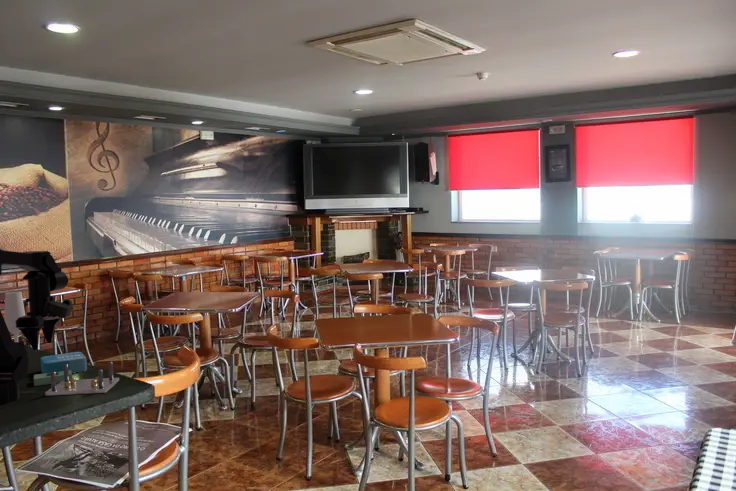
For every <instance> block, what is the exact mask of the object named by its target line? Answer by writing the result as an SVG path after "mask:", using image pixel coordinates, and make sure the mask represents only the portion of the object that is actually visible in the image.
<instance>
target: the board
mask: <svg viewBox="0 0 736 491" xmlns="http://www.w3.org/2000/svg"><path fill="white" fill-rule="evenodd" d="M68 374H69V380H70V378H73V374H72V372H71V370H68ZM63 380H64V371H60V372H56V384H58V383H60V382H61V381H63ZM44 385H45V386H46V385H51V373H45V374H43V373H39V374H33V386H34V387H37V386H44Z"/></svg>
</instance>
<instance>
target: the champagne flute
mask: <svg viewBox="0 0 736 491" xmlns="http://www.w3.org/2000/svg"><path fill="white" fill-rule="evenodd" d="M22 294H23V293H22V291H9V292H5V295H4V316H3V318H4V320H5V323H6V325H7V328H8V330H9V333H10V334H13V338H14V340H13V341H14V342H19V334H21V333H22V332H21V330H19V329H18V328H16V320H17V319H18V318H19V317H22V316H26V310H25V306H24V300H23V299H24V298H23V295H22Z"/></svg>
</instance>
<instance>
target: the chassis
mask: <svg viewBox="0 0 736 491" xmlns="http://www.w3.org/2000/svg"><path fill="white" fill-rule="evenodd" d="M113 364H114V362H113V361H109V362H107V366H108V368H107V369H108V377H106V378H105V377H104V370H103V369H97V375H98V376H95V378H87V379H85V378H83V379H77V378H76V377H72V378H70V380H69V374H68V364H64V365H63V367H64V380H63V381H61V382H60V383H56V372H51V384H50V385H51V388H49V389H48V390H46V391H44V394H45V395H44V396H45V397H47V396H48V397H50V396H66V395H67V396H68V395H84V394H85V395H86V394H102V393H104V394H105V393H107V392H108V391H110V389H112V388H113V387H114V386H115V385H116V384H117V383H118V382H119V381H120V377H114V365H113Z"/></svg>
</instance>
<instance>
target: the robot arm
mask: <svg viewBox="0 0 736 491" xmlns="http://www.w3.org/2000/svg"><path fill="white" fill-rule="evenodd" d="M55 260H56V259H54V256H53V255H52V253H51V252H50V251H48V250H40V251H39V250H36V251H35V250H33V251H31V250H30V251H22V252H21V251H11V250H3V249H1V248H0V276H1V275H2V272H3V271H2V270H3V268H2V266H14V267H15V266H16V267H19V268H20V269H21V270H25V271H27V273H26V274H25V275H24V276H23V278H22V280H23V281H27V291H28V293H27V294H28V297H27V298H25V303H28V307H29V308H28V309H29V311H27V312H26V315H25V316H22V317H19V318H18V319H17V320H16V328H18V329H19V330H21V332H20V333H22V335H23V336H24V337H25V339H26V341H27V342H28V344H29V346H30V347H31V348H32V350H34V351H37V350H38V349H39V342H40V341H39V339H40V331H41V330H42V333H43V334H42V335H43V336H44V339H45V341H46V343H47V344H51V343H52V342H53V338H54V333H55V330H56V326H57V324H58V323H59V322H61V320H62V319H66V318H68V317H70V316H71V313H72V311H73V310H74V308H73V307H74V305H73V302H72V300H70V299H67V298H66V299H64V300H63V301H58V300H57V301H56V300H55V296H54V295H51V292H54V291H55V292H56V291H58V290H63V289H65V288H66V287H67V286H68V284H69V277H68V275H67V274H66V273H65V272H63V271H62V267H59V266H58V264H57V262H56V261H55ZM28 355H29V352H28V351H27V350H26V347H25V343H23V341H18V342H14V340H13V338H12V335H11V333H10V332H9V330H8V328H7V325H6V323H5V320H4V316H3V313H2V311H1V310H0V405H3V404H10V403H13V402H16V401H18V400H20V386H19V384H20V383H19V382H20V381H23V380H25V379H27V375H28V367H29V362H30V360H29V357H28Z"/></svg>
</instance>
